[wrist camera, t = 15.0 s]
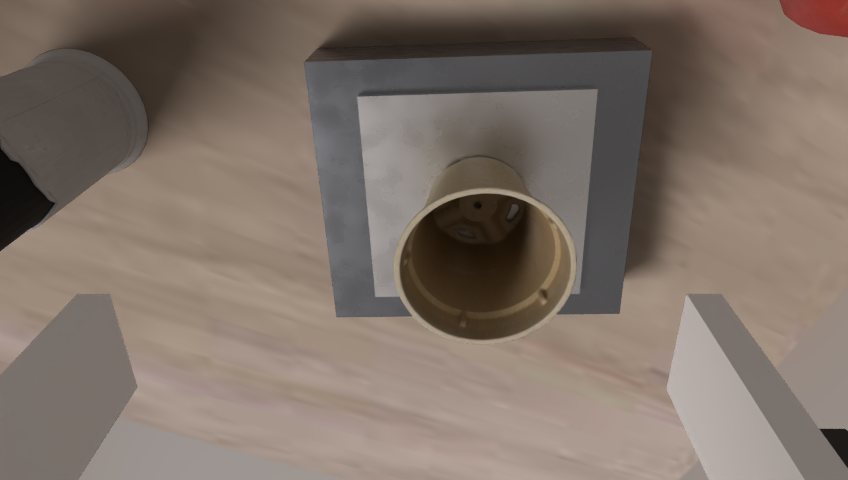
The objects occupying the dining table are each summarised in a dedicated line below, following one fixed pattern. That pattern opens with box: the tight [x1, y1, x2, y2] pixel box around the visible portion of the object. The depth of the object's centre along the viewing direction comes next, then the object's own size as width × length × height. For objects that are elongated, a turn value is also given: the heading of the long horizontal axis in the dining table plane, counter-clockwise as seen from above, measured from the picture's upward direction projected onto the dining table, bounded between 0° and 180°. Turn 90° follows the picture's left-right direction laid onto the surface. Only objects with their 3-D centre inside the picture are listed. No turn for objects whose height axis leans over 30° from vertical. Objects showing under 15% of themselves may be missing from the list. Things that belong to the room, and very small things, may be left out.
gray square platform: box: [304, 38, 652, 317], centre depth 42 cm, size 20×18×4 cm
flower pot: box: [394, 157, 577, 345], centre depth 36 cm, size 9×9×9 cm
